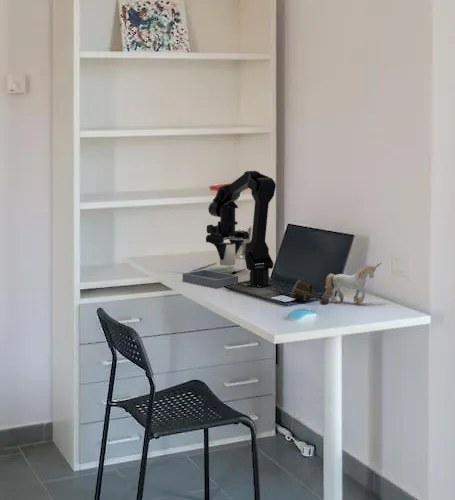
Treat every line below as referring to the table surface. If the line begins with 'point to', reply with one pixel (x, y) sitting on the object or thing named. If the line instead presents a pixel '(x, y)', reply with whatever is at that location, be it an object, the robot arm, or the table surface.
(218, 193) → the robot arm
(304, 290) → the brown wooden mallet
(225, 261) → the ceramic cup
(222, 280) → the desk tray
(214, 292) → the table surface
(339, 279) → the unicorn figurine
